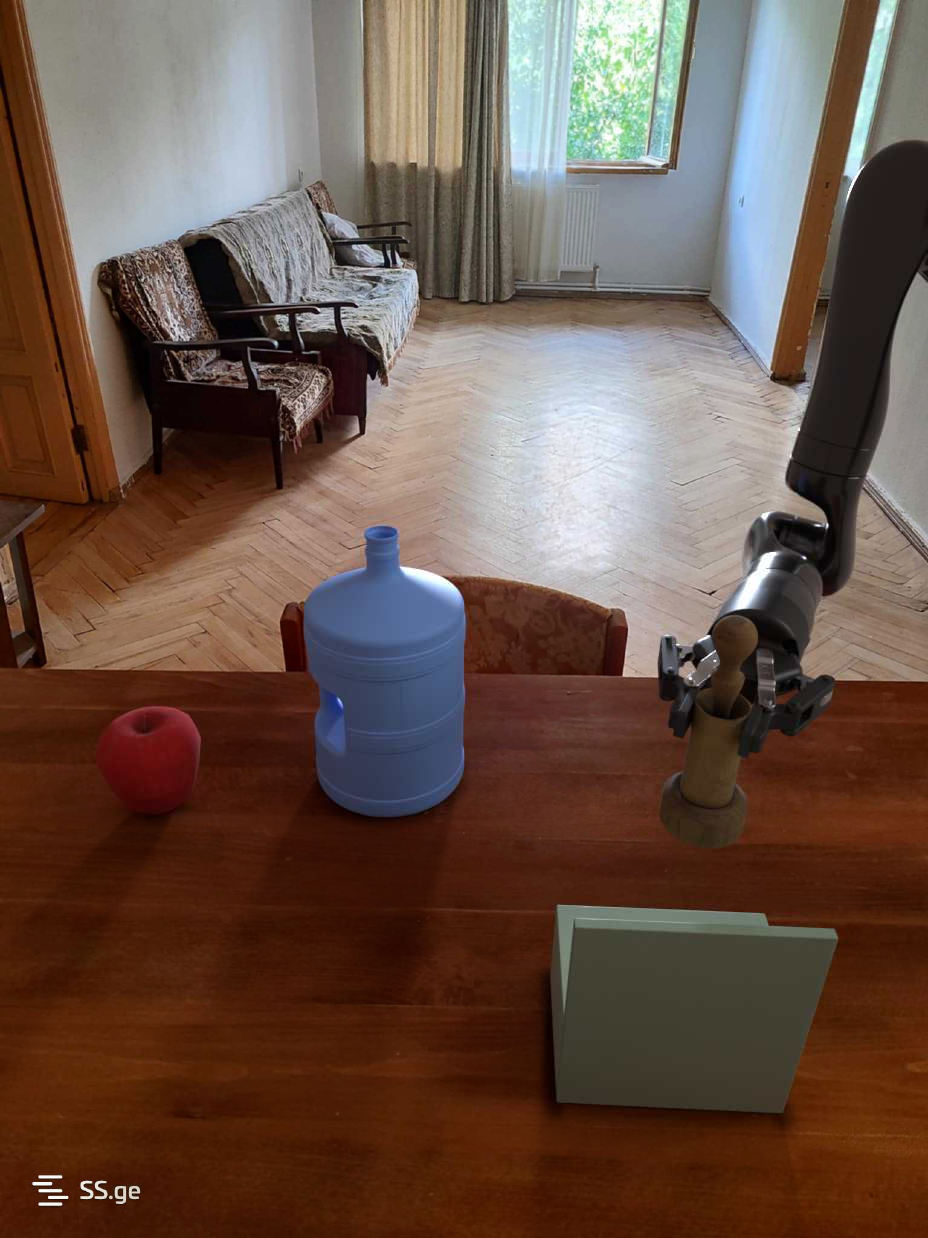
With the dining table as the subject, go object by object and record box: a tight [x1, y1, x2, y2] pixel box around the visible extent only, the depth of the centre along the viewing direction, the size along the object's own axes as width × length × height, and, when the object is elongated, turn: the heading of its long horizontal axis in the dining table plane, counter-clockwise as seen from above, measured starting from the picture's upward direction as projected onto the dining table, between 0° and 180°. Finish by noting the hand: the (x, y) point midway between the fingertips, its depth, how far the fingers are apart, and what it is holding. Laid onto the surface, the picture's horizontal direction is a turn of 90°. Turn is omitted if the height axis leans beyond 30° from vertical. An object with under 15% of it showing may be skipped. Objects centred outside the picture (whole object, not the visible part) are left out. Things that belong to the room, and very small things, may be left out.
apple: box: [94, 705, 202, 815], centre depth 87 cm, size 10×10×11 cm
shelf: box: [549, 904, 839, 1114], centre depth 63 cm, size 16×11×18 cm
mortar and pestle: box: [658, 615, 758, 850], centre depth 64 cm, size 7×6×18 cm
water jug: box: [303, 525, 467, 818], centre depth 88 cm, size 16×16×28 cm
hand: (711, 736), depth 62 cm, fingers closed on mortar and pestle, 4 cm apart
